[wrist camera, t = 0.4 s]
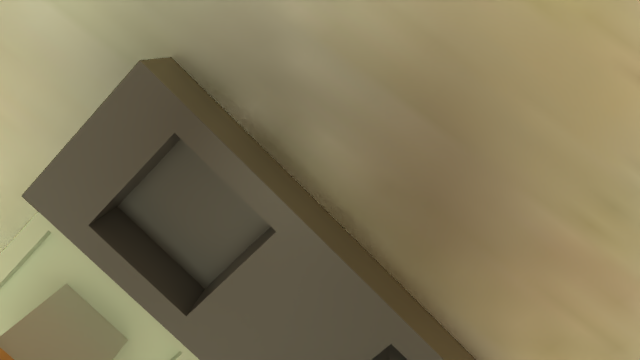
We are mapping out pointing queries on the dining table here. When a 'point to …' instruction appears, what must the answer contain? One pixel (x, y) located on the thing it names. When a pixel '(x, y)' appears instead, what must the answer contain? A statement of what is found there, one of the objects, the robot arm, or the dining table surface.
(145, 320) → the tray
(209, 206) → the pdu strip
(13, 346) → the plug
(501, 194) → the dining table surface
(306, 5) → the dining table surface
